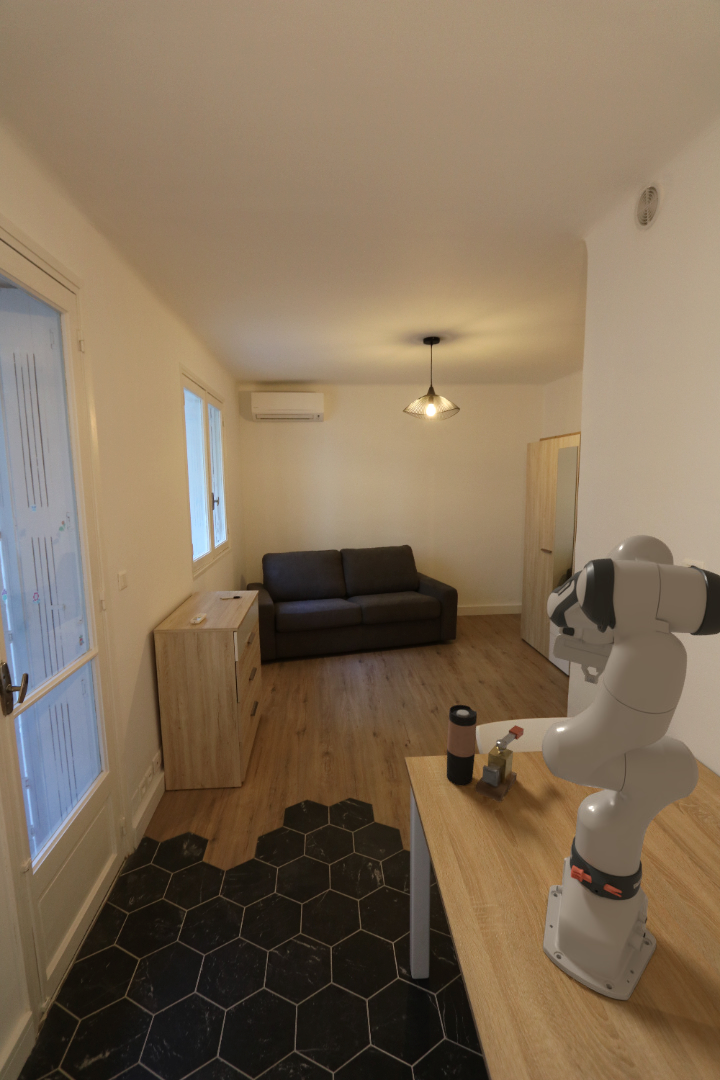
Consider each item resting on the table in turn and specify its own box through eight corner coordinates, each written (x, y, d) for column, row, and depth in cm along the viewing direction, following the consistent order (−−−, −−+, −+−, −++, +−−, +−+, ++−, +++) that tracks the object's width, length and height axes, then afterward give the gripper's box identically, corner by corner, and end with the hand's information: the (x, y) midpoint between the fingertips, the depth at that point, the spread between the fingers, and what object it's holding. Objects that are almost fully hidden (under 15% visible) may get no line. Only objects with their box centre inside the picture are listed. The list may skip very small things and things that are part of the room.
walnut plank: (500, 802, 125) (500, 795, 125) (475, 791, 130) (475, 784, 129) (516, 779, 135) (516, 773, 135) (492, 770, 139) (492, 763, 139)
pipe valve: (497, 792, 126) (499, 764, 125) (479, 785, 129) (481, 757, 128) (512, 772, 135) (514, 746, 134) (495, 765, 138) (497, 740, 137)
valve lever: (503, 751, 130) (503, 745, 130) (494, 747, 132) (494, 741, 132) (523, 734, 139) (524, 728, 139) (514, 730, 141) (514, 725, 141)
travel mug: (444, 783, 133) (447, 715, 130) (447, 767, 140) (450, 702, 137) (472, 788, 131) (476, 720, 128) (474, 772, 138) (478, 707, 135)
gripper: (644, 638, 120) (638, 690, 122) (560, 620, 134) (556, 667, 136) (638, 645, 116) (632, 699, 118) (552, 625, 129) (548, 674, 131)
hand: (591, 682), depth 127 cm, fingers closed
